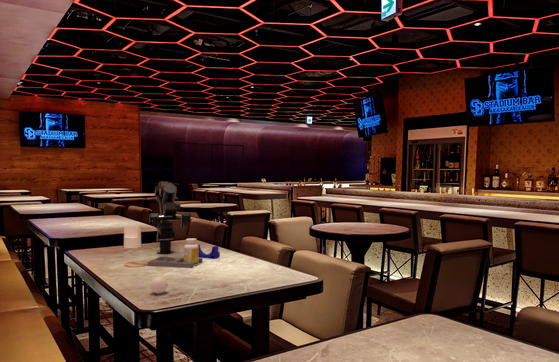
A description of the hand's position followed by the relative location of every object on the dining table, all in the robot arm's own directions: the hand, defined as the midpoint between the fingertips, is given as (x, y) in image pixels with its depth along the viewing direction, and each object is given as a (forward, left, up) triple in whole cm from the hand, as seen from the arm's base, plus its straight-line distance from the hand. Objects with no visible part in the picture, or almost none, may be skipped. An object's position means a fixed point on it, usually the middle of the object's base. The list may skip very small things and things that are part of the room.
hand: (171, 233), depth 182 cm
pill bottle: (+1, +10, -14) cm, 17 cm away
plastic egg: (+44, +16, -14) cm, 49 cm away
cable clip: (-16, +11, -14) cm, 24 cm away
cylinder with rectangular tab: (-35, -40, -14) cm, 55 cm away
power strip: (+1, +3, -14) cm, 14 cm away
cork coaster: (+5, -14, -14) cm, 20 cm away
